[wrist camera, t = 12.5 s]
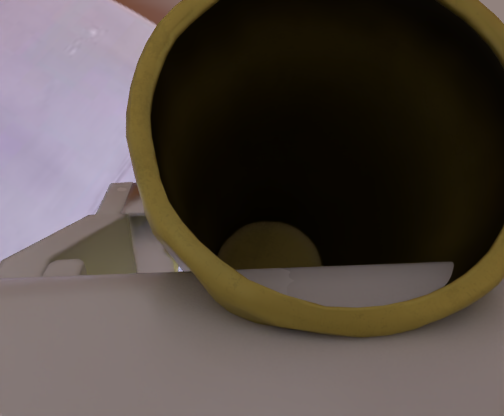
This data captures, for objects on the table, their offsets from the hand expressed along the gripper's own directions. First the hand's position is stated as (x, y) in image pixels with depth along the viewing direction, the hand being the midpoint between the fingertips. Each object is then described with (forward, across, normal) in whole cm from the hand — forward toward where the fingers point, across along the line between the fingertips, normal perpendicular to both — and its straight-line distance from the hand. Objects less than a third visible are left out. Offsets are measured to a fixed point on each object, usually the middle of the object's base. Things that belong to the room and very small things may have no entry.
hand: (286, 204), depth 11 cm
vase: (+6, 0, +6) cm, 9 cm away
